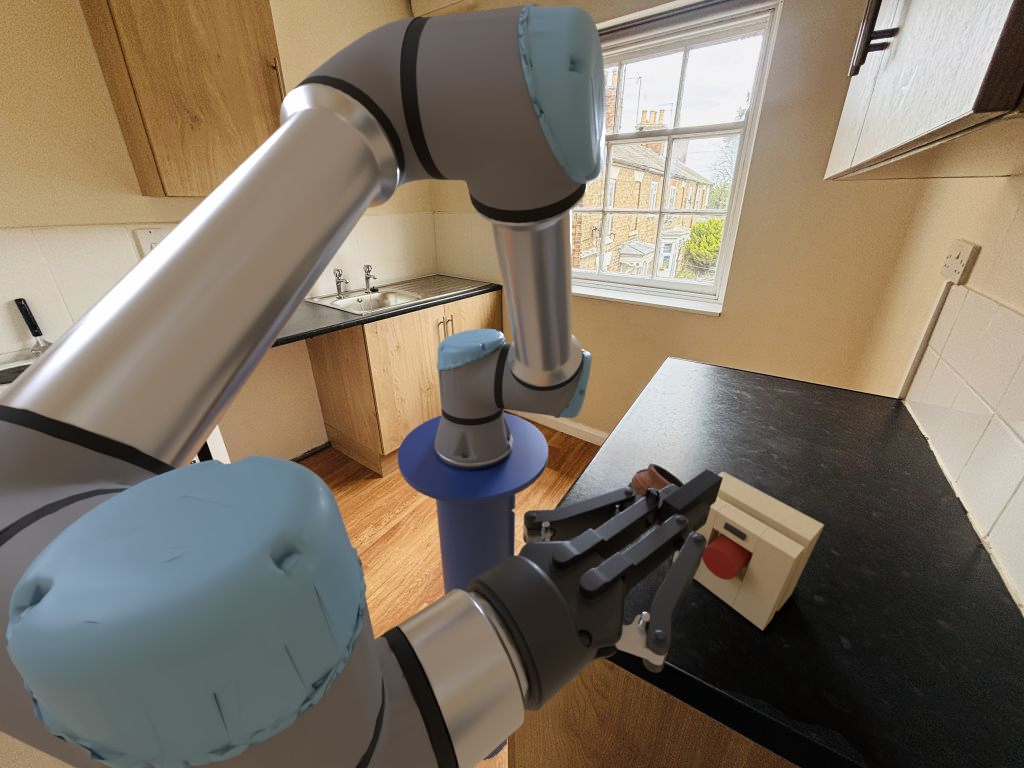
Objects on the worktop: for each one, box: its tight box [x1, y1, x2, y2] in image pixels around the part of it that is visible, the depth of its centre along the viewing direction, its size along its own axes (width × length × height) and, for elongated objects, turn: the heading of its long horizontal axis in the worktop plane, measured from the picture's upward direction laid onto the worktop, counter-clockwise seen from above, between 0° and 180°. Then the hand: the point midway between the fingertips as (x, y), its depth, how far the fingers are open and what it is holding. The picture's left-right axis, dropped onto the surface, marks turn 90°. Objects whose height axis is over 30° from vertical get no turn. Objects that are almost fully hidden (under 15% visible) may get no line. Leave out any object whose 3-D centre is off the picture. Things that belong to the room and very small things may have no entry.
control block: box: [672, 471, 825, 631], centre depth 51 cm, size 12×8×12 cm
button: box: [702, 534, 752, 580], centre depth 48 cm, size 4×4×4 cm
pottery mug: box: [627, 463, 685, 526], centre depth 63 cm, size 12×10×8 cm
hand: (711, 485), depth 36 cm, fingers closed
